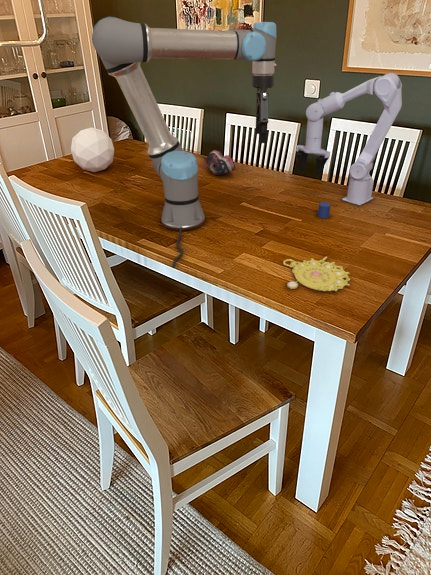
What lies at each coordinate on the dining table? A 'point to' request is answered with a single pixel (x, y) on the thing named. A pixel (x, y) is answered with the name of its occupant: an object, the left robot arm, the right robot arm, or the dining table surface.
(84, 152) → the sphere
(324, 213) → the canister
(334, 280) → the decorative object
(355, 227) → the dining table surface
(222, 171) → the athletic shoe
